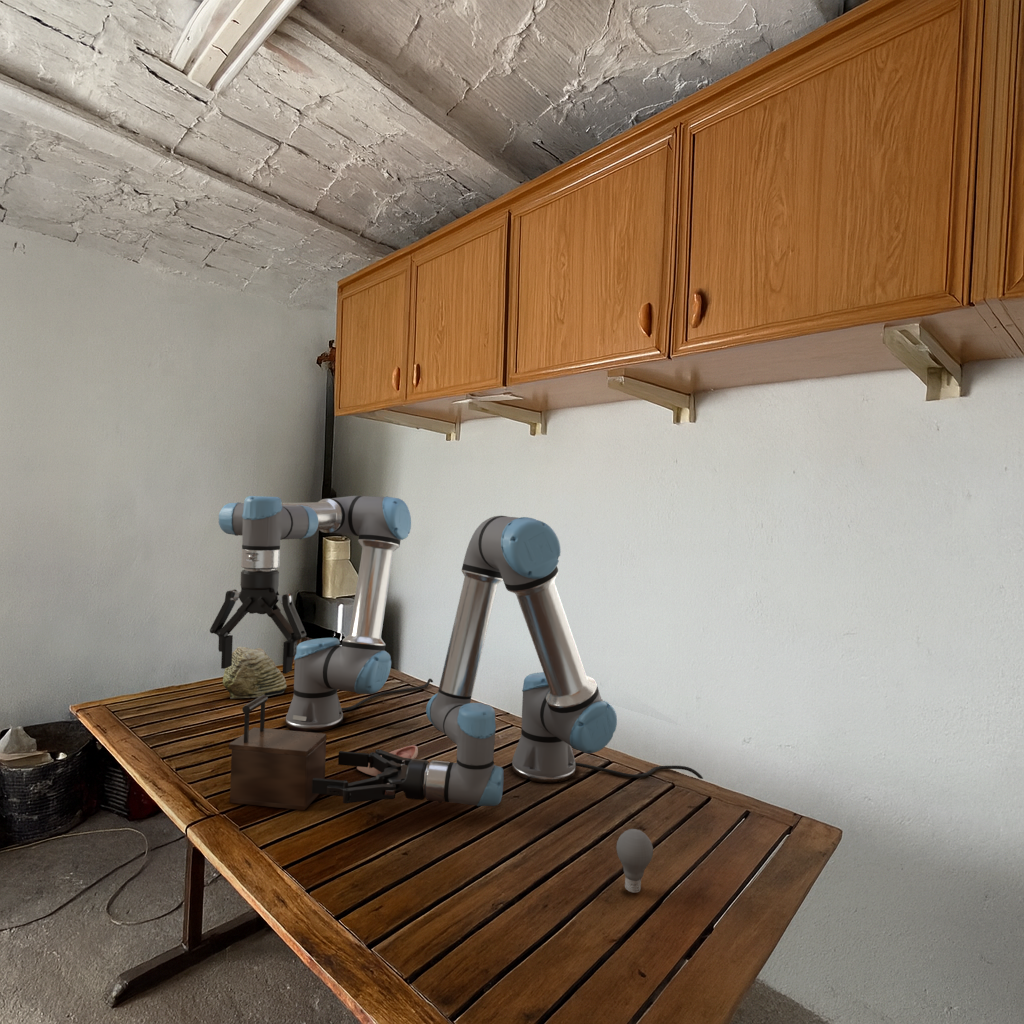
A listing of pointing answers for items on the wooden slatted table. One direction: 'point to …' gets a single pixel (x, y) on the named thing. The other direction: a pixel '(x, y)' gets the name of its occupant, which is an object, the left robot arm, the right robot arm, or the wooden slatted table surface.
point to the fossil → (253, 674)
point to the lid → (274, 736)
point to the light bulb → (634, 857)
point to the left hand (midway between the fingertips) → (256, 669)
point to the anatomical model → (402, 752)
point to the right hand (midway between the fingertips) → (326, 770)
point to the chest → (276, 778)
